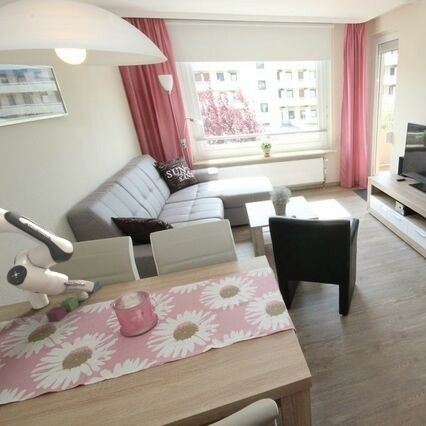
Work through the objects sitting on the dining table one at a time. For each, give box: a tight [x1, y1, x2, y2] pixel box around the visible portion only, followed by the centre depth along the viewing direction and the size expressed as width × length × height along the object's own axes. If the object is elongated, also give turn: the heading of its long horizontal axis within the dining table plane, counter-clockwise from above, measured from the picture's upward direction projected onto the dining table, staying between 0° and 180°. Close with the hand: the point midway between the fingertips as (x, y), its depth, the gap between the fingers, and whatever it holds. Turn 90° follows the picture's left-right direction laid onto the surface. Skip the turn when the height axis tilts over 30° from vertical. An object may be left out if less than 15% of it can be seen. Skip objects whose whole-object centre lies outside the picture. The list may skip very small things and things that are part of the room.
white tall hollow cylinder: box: [21, 289, 50, 310], centre depth 127 cm, size 7×7×15 cm
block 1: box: [45, 306, 68, 322], centre depth 120 cm, size 4×4×4 cm
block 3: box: [85, 280, 101, 294], centre depth 138 cm, size 4×4×4 cm
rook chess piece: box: [75, 291, 90, 302], centre depth 131 cm, size 4×4×8 cm
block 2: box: [59, 296, 80, 312], centre depth 126 cm, size 4×4×4 cm
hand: (80, 290), depth 132 cm, fingers open, 8 cm apart
